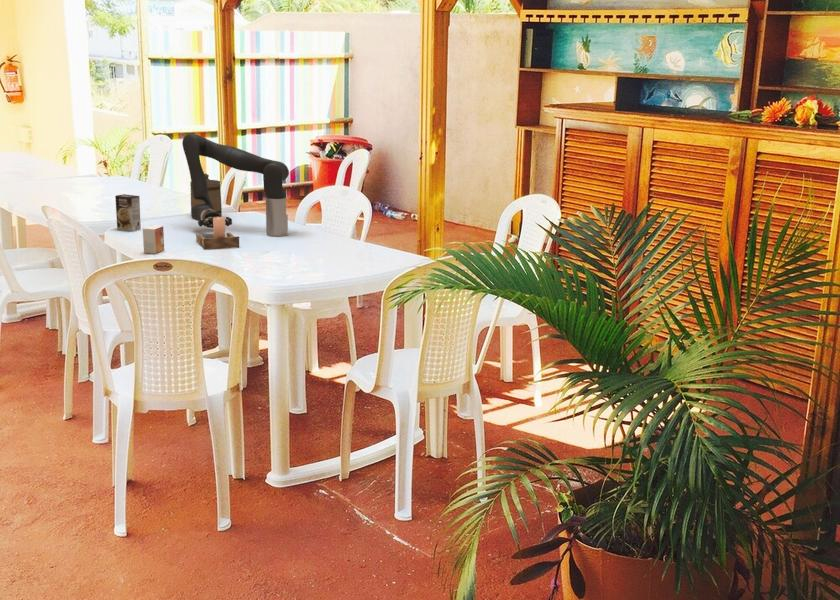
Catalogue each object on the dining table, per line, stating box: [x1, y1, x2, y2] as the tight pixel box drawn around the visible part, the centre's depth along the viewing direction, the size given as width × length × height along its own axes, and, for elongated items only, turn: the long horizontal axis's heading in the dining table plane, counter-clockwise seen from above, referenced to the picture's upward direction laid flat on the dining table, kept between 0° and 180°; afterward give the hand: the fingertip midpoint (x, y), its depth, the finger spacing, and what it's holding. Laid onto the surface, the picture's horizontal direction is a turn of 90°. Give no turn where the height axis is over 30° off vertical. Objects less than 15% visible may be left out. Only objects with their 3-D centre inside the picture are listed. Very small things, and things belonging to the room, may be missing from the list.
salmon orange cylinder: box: [212, 216, 226, 238], centre depth 408 cm, size 5×5×12 cm
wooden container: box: [189, 173, 223, 220], centre depth 471 cm, size 15×15×22 cm
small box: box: [142, 225, 165, 255], centre depth 396 cm, size 8×6×10 cm
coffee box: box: [115, 193, 142, 232], centre depth 438 cm, size 9×6×16 cm
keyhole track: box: [195, 232, 240, 251], centre depth 414 cm, size 15×18×5 cm
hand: (218, 224), depth 410 cm, fingers open, 8 cm apart
